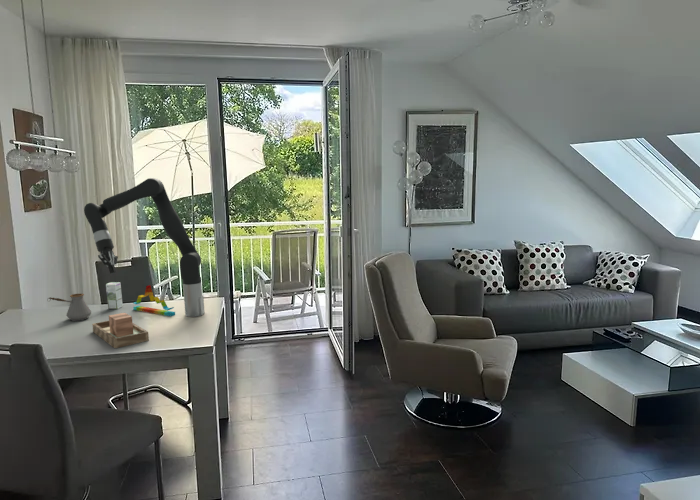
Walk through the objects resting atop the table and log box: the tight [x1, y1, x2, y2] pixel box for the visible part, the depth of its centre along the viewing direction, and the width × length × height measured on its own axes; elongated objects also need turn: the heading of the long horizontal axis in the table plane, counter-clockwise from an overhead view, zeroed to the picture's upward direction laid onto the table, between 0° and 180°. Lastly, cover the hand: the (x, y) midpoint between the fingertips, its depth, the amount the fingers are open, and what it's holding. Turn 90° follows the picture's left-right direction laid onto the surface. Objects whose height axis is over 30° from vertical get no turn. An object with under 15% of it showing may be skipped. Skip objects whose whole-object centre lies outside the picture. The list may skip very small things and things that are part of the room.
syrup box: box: [105, 281, 124, 310], centre depth 279 cm, size 6×6×14 cm
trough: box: [91, 320, 150, 349], centre depth 228 cm, size 33×14×4 cm, turn 42°
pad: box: [110, 328, 140, 338], centre depth 224 cm, size 10×12×2 cm
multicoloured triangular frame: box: [132, 284, 176, 317], centre depth 267 cm, size 30×3×15 cm, turn 60°
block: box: [108, 312, 134, 337], centre depth 223 cm, size 10×7×8 cm
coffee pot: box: [47, 293, 92, 322], centre depth 254 cm, size 21×12×15 cm, turn 156°
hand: (113, 272), depth 244 cm, fingers closed
